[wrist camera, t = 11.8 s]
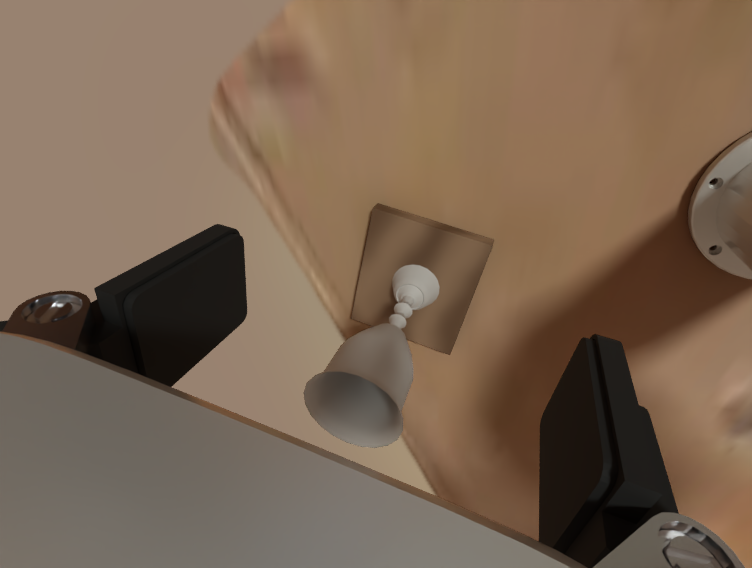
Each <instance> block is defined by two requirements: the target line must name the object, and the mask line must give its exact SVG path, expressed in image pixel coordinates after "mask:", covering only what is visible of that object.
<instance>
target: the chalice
mask: <svg viewBox="0 0 752 568" xmlns="http://www.w3.org/2000/svg"><path fill="white" fill-rule="evenodd" d="M392 287H393V292H394V297H395V299H396V301H397V302H398V304H396V305H395V307H394V312H395V313H396V314H393V315H391V316H390V317H389V322H390V324H389V323H384V324H380V325H377V326H374V327H371V328H368V329H366V330H363V331H361V332H359V333H357V334H355V335H354V336H352V337H350V338H349V339H347V340H346V341H345V342H344V343H343V344H342V345H341V346H340V348H339V349H338V351H337V352H336V354H335V355H334V357H333V358H332V360H331V362H330V363H329V364H328V366H327V368H326V369H325V370H324V372H322V373H320V374H317V375H315V376H314V377H313V378H312V379H311V380H310V381H308V382H307V384H306V388H305V391H304V398H305V404H306V406H307V408H308V410H309V412H310V414H311V416H312V417H313V418H314V419H315V420H316V421H317V423H318V424H319V425H320V426H321V427H322V428H324V429H325V430H326V431H328V432H329V433H330V434H332V435H333V436H335V437H337V438H339V439H341V440H343V441H345V442H347V443H350V444H354V445H358V446H361V447H372V448H377V447H382V446H388V445H389V444H391V443H393V442H394V441H396V440H397V439H398V438H399V436H400V434H401V433H402V431H403V417H402V413H401V411H402V408H403V405H404V403H405V400H406V397H407V394H408V392H409V389H410V386H411V384H412V381H413V363H412V355H411V352H410V349H409V346H408V343H407V340H406V337H405V334H404V332H403V331H402V330H401V328H404V327H405V326H406V320H405V318H409V317H410V316H411V315H412V310H419V309H422V308H424V307H426V306H427V305H430V304H432V303H433V302H434V301H435V300H436V299H437V297H438V295H439V288H440V287H439V283H438V280H437V278H436V277H435V275H434V274H433V273H432V272H431V271H430V270H428V269H427V268H424V267H422V266H419V265H406V266H404V267H402V268H400V269H398V271H397V272H396V273H395V274H394V277H393V279H392Z"/></svg>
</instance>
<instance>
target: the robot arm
mask: <svg viewBox="0 0 752 568" xmlns="http://www.w3.org/2000/svg"><path fill="white" fill-rule="evenodd" d="M714 178H716V180H715V182H714V183H709V182H710V181H711V180H712V179H714ZM688 226H689V229H690V233H691V236H692V239H693V240H694V242H695V244H696V246H697V247H698V249H699V250H700V251H701V253H702V254H703V255H704V256H705V257H706V258H707V259H708V260H709V261H711V262H712V263H713V264H714V265H716V266H717V267H718V268H720V269H722V270H724V271H726V272H728V273H730V274H733V275H736V276H739V277H743V278H746V279H752V132H751V133H749V134H747V135H746V136H744V137H742V138H740V139H739V140H738V141H736V142H735V143H734V144H732V145H731V146H730V147H729V148H727V149H726V150H725V151H723V152H722V153H721V154H720V155H719V156H718V157H717V158H716V159H715V160H714V161H713V162H712V164H711V165H710V166H709V167H708V168H707V170H706V171H705V172H704V174H703V175H702V177H701V178H700V180H699V181H698V183H697V185H696V187H695V190H694V192H693V194H692V196H691V200H690V205H689V209H688ZM714 245H715V246H714ZM711 246H714V247H713V248H710V247H711ZM95 293H96V296H97V300H95V301H94V302H92V303H91V302H90V299H89V298H88V297H87V296H86V295H84V294H82V293H80V292H75V291H56V292H49V293H46V294H42V295H38V296H36V297H33V298H31V299H29V300H27V301H25V302H23V303H22V304H20V305H19V306H18V307H17V308H16V309H15V310H14V311H13V313H12V315H11V317H10V318H9V320H8V321H1V322H0V568H745V567H744V565H743V564H742V563H741V561H740V560H739V559H738V557H737V556H736V554H735V553H734V552H733V550H732V549H731V548H730V547H729V546H728V545H727V544H726V543H725V542H724V541H723V540H722V539H721V538H720V537H719V536H717V535H716V534H715V533H713V532H712V531H711V530H709V529H708V528H707V527H705V526H704V525H702V524H701V523H699V522H697V521H695V520H693V519H691V518H689V517H687V516H684V515H680V514H679V513H678V510H677V506H676V503H675V499H674V496H673V493H672V489H671V486H670V483H669V479H668V476H667V472H666V469H665V466H664V462H663V459H662V455H661V452H660V449H659V445H658V442H657V438H656V435H655V432H654V428H653V425H652V421H651V418H650V415H649V413H648V411H647V409H645V408H644V407H642V406H639V405H638V401H637V397H636V394H635V390H634V386H633V383H632V379H631V375H630V371H629V368H628V364H627V360H626V357H625V353H624V349H623V346H622V343H621V342H620V341H617V340H613V339H610V338H606V337H603V336H600V335H596V334H594V335H593V336H592V337H591V338H590V339H588V338H585V337H583V338H582V339H581V340H580V342H579V344H578V346H577V348H576V350H575V352H574V354H573V356H572V358H571V360H570V362H569V364H568V366H567V368H566V369H565V371H564V373H563V375H562V377H561V379H560V381H559V383H558V385H557V387H556V389H555V391H554V393H553V395H552V397H551V399H550V401H549V403H548V405H547V407H546V409H545V411H544V413H543V415H542V418H541V423H540V487H539V542H538V541H536V540H534V539H532V538H530V537H528V536H526V535H524V534H522V533H520V532H518V531H515V530H513V529H511V528H508V527H506V526H504V525H502V524H499V523H497V522H495V521H492V520H490V519H488V518H485V517H483V516H481V515H479V514H476V513H474V512H472V511H469V510H467V509H465V508H462V507H460V506H458V505H455V504H453V503H451V502H449V501H446V500H444V499H442V498H439V497H437V496H435V495H432V494H430V493H427V492H425V491H422V490H420V489H418V488H415V487H413V486H411V485H408V484H406V483H403V482H401V481H399V480H396V479H393V478H391V477H389V476H386V475H384V474H382V473H379V472H377V471H374V470H372V469H370V468H367V467H365V466H362V465H360V464H358V463H355V462H353V461H350V460H348V459H346V458H343V457H341V456H338V455H336V454H334V453H331V452H329V451H326V450H324V449H321V448H319V447H317V446H314V445H312V444H309V443H307V442H304V441H302V440H299V439H297V438H294V437H292V436H290V435H287V434H285V433H282V432H280V431H278V430H275V429H273V428H270V427H268V426H265V425H263V424H261V423H258V422H255V421H253V420H251V419H248V418H246V417H243V416H241V415H238V414H236V413H233V412H231V411H229V410H226V409H224V408H221V407H219V406H216V405H214V404H211V403H209V402H207V401H204V400H202V399H199V398H197V397H194V396H192V395H189V394H187V393H184V392H182V391H179V390H177V389H174V388H172V386H173V385H174V384H175V383H176V382H177V381H178V380H179V379H180V378H182V377H183V376H184V375H185V374H186V373H187V372H188V371H189V370H190V369H191V368H192V367H194V366H195V365H196V364H197V363H198V362H199V361H200V360H202V359H203V358H204V357H205V356H206V355H207V354H208V353H209V352H210V351H211V350H212V349H214V348H215V347H216V346H217V345H218V344H219V343H220V342H221V341H223V340H224V339H225V338H226V337H227V336H228V335H229V334H230V333H232V332H233V330H235V329H236V328H237V327H238V326H239V325H240V324H241V323H242V322H243V321H244V320H245V318H246V315H247V300H246V278H245V258H244V242H243V238H242V236H240V234H239V232H238V231H237V230H236V229H234V228H230V227H227V226H223V225H220V224H217V225H214V226H212V227H210V228H208V229H206V230H204V231H202V232H200V233H199V234H196V235H195V236H193V237H191V238H189V239H187V240H185V241H183V242H181V243H179V244H177V245H176V246H174V247H172V248H170V249H168V250H166V251H164V252H162V253H161V254H158V255H157V256H155V257H153V258H151V259H149V260H147V261H145V262H143V263H142V264H140V265H138V266H136V267H134V268H132V269H130V270H128V271H126V272H124V273H122V274H120V275H119V276H117V277H115V278H113V279H111V280H109V281H107V282H105V283H103V284H101V285H100V286H98V287H96V288H95Z"/></svg>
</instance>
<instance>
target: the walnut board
mask: <svg viewBox="0 0 752 568" xmlns="http://www.w3.org/2000/svg"><path fill="white" fill-rule="evenodd" d="M493 243H494V240H493V239H490V238H487V237H484V236H481V235H477V234H474V233H471V232H468V231H465V230H462V229H458V228H455V227H452V226H449V225H446V224H442V223H439V222H436V221H433V220H430V219H426V218H423V217H420V216H417V215H414V214H410V213H407V212H404V211H401V210H398V209H394V208H391V207H388V206H385V205H382V204H379V203H378V204H377V205H376V206H374V207H373V210H372V215H371V220H370V226H369V231H368V236H367V241H366V246H365V251H364V256H363V261H362V266H361V271H360V276H359V281H358V286H357V291H356V296H355V301H354V306H353V311H352V317H351V319H354V320H356V321H359V322H362V323H364V324H367V325H370V326H372V327H374V326H377V325H380V324H384V323H389V324H390V322H389V317H390V316H391V315H393V314H396V313H395V312H394V307H395V305H396V304H398V302H397V301H396V299H395V297H394V292H393V287H392V279H393V277H394V274H395V273H396V272H397V271H398V269H400V268H402V267H404V266H406V265H419V266H422V267H424V268H427V269H428V270H430V271H431V272H432V273H433V274H434V275H435V277H436V278H437V280H438V283H439V287H440V288H439V295H438V297H437V299H436V300H435V301H434V302H433V303H432V304H430V305H427V306H426V307H424V308H422V309H419V310H412V315H411V316H410V317H409V318H405V320H406V326H405V327H404V328H401V330H402V331H403V332H404V334H405V337H406V339H408V340H410V341H413V342H416V343H418V344H421V345H424V346H426V347H429V348H432V349H434V350H437V351H440V352H443V353H445V354H448V355H450V354H451V351H452V349H453V346H454V344H455V341H456V339H457V336H458V333H459V331H460V328H461V326H462V323H463V321H464V318H465V316H466V313H467V310H468V308H469V305H470V303H471V300H472V298H473V295H474V293H475V290H476V287H477V285H478V282H479V280H480V277H481V275H482V272H483V270H484V267H485V264H486V262H487V259H488V257H489V254H490V252H491V249H492V247H493Z"/></svg>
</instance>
